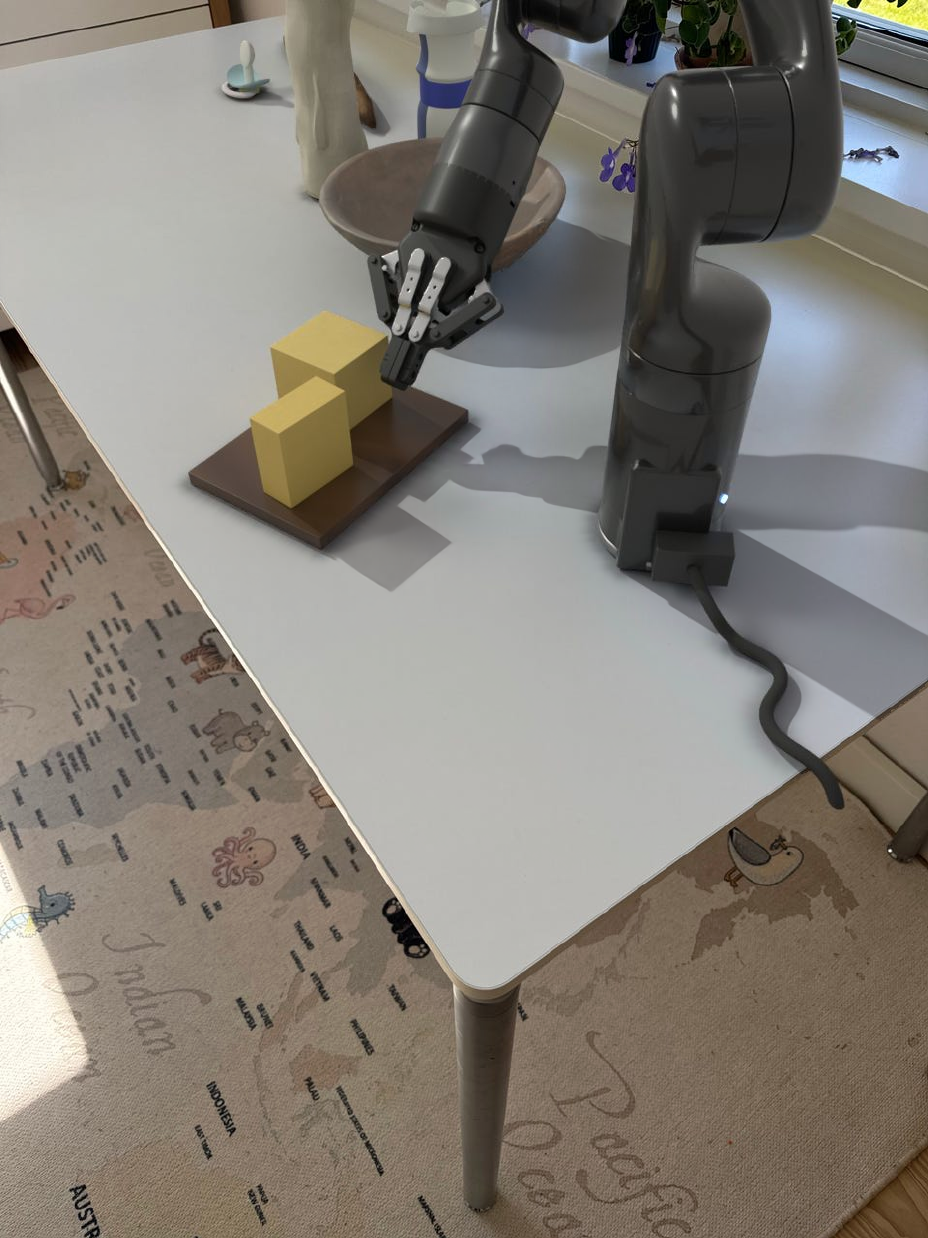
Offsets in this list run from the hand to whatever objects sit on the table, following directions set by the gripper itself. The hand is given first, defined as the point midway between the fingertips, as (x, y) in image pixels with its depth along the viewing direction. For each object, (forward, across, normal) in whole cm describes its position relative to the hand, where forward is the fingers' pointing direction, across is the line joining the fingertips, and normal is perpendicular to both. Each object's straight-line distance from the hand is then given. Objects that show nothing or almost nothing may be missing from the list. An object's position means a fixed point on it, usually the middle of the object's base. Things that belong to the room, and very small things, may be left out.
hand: (392, 385), depth 83 cm
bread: (-38, -58, +46) cm, 83 cm away
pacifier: (-32, -65, +40) cm, 83 cm away
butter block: (+3, -6, +3) cm, 8 cm away
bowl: (-15, -14, +23) cm, 31 cm away
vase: (-20, -35, +28) cm, 49 cm away
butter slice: (+10, -2, -4) cm, 10 cm away
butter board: (+7, -3, +1) cm, 8 cm away
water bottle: (-26, -24, +34) cm, 49 cm away
